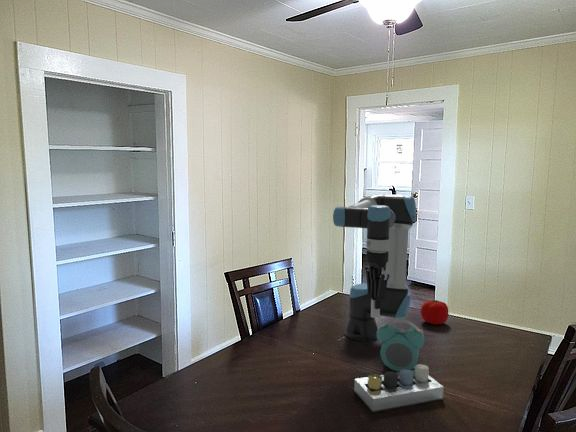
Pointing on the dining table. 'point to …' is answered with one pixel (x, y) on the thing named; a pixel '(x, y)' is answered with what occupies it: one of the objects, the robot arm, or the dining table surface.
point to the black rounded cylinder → (390, 380)
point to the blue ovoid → (406, 377)
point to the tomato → (434, 312)
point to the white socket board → (398, 393)
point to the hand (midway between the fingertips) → (375, 316)
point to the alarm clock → (400, 345)
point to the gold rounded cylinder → (374, 382)
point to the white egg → (421, 373)
